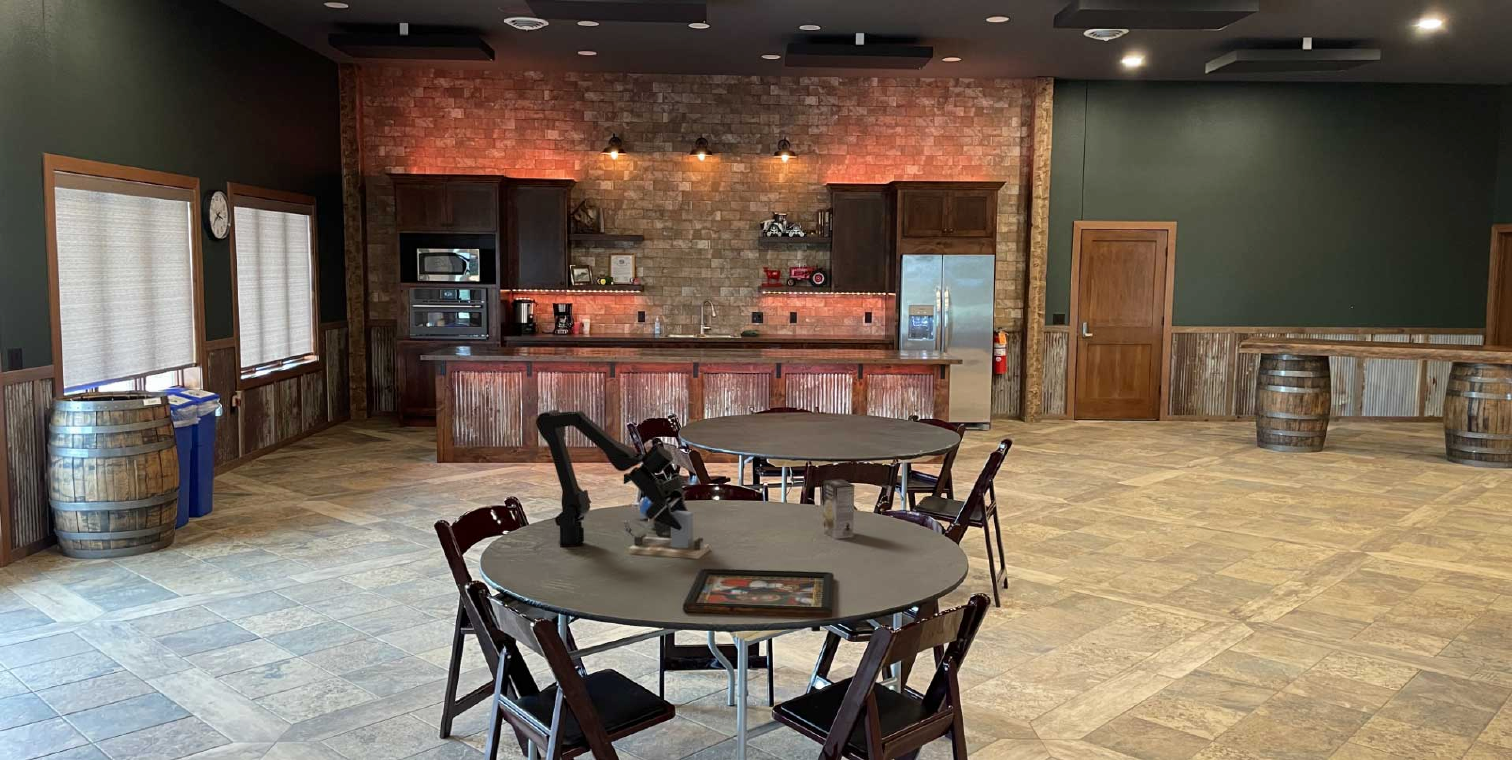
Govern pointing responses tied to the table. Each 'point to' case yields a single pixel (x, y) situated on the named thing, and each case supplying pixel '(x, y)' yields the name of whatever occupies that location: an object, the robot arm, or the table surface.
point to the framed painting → (761, 592)
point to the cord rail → (667, 547)
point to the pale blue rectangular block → (686, 533)
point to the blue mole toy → (642, 505)
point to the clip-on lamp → (656, 525)
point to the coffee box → (838, 508)
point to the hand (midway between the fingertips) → (685, 525)
